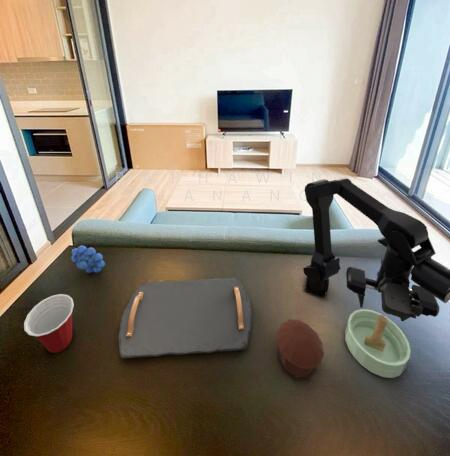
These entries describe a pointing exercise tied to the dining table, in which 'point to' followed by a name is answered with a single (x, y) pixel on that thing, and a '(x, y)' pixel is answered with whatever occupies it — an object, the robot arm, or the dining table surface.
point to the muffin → (299, 348)
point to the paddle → (377, 334)
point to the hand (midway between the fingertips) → (380, 312)
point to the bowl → (370, 357)
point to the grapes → (87, 259)
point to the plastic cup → (51, 322)
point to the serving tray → (185, 318)
